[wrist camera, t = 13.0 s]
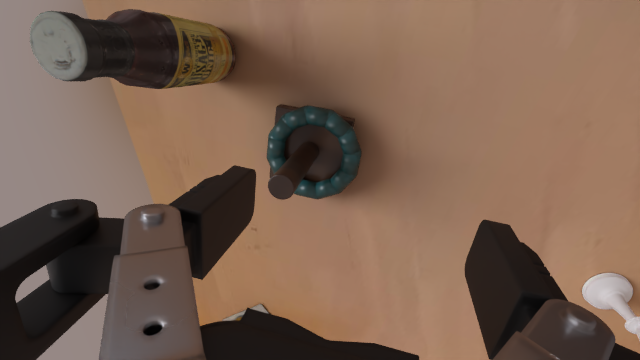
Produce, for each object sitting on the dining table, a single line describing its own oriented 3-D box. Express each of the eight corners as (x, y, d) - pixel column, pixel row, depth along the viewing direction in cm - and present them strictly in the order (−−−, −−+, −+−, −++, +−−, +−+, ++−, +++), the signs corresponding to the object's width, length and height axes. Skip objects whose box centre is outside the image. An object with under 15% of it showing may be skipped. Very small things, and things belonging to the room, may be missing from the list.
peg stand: (354, 118, 38) (339, 149, 27) (341, 188, 42) (322, 242, 30) (280, 104, 39) (235, 127, 28) (273, 173, 43) (230, 219, 31)
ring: (369, 115, 36) (368, 118, 34) (351, 202, 40) (349, 209, 38) (274, 97, 37) (269, 100, 35) (267, 183, 42) (261, 190, 40)
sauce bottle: (228, 90, 40) (92, 127, 22) (182, 64, 40) (7, 79, 21) (247, 38, 37) (111, 29, 19) (199, 10, 37) (15, -26, 19)
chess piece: (640, 289, 39) (717, 363, 30) (602, 312, 41) (662, 388, 32) (609, 265, 38) (677, 332, 29) (572, 289, 40) (625, 360, 31)
